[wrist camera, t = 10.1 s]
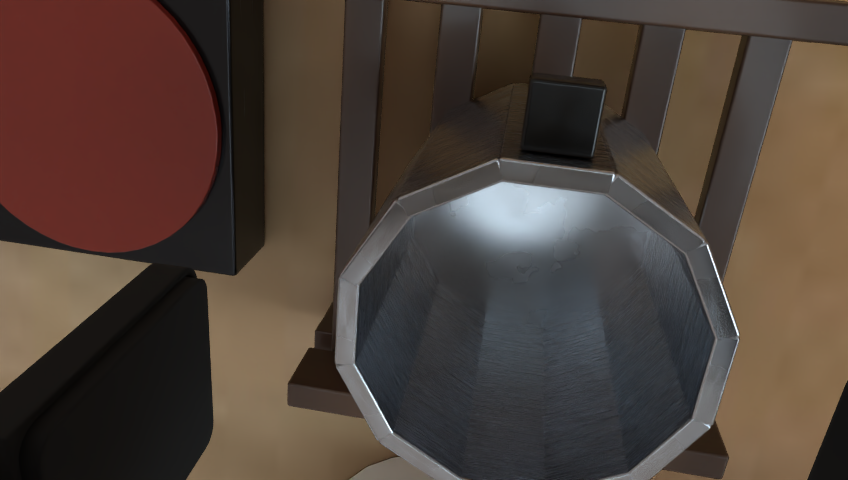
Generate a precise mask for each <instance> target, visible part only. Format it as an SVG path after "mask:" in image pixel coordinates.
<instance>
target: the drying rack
mask: <svg viewBox="0 0 848 480" xmlns="http://www.w3.org/2000/svg"><path fill="white" fill-rule="evenodd" d="M406 1H416V2H425V3H435V4H441V15H440V26H439V36H438V47H437V58H436V69H435V80H434V91H433V102H432V112H431V123H430V134H431V132H432V131H433V130H434V128H435V127H436V126H437V124H438V123H439V121H440V120H441V119H442V117H443V116H444V115H445V113H447V112H448V111H449V110H451V109H453V108H455V107H458V106H460V105H462V104H465V103H467V102H469V101H472V100H473V95H474V87H475V78H476V69H477V61H478V52H479V43H480V35H481V26H482V17H483V9H493V10H502V11H512V12H522V13H531V14H540V19H539V25H538V32H537V39H536V46H535V53H534V60H533V66H532V73H535V72H536V73H545V74H554V75H563V76H572V77H573V72H574V66H575V60H576V54H577V48H578V42H579V36H580V31H581V25H582V19H589V20H599V21H608V22H618V23H628V24H637V25H639V30H638V35H637V40H636V45H635V50H634V54H633V59H632V64H631V69H630V74H629V79H628V84H627V89H626V94H625V99H624V104H623V109H622V114H621V117H623V118H624V119H625V120H627V121H628V122H629V123H630V124H632V125H633V126H634V127H636V128H637V129H638V130H640V131H641V132H642V133H643V134H644V135H645V136H646V138H647V139H648V141H649V143H650V144H651V146H652V148H653V150H654V151H655V153H656V155H657V154H658V150H659V145H660V141H661V137H662V132H663V128H664V123H665V119H666V115H667V110H668V106H669V101H670V97H671V93H672V88H673V84H674V80H675V75H676V71H677V66H678V62H679V58H680V53H681V49H682V44H683V40H684V36H685V31H686V30H695V31H705V32H714V33H724V34H733V35H742V37H741V41H740V45H739V49H738V53H737V57H736V61H735V64H734V68H733V72H732V76H731V80H730V84H729V88H728V91H727V95H726V99H725V103H724V107H723V111H722V115H721V118H720V122H719V126H718V130H717V134H716V138H715V142H714V145H713V149H712V153H711V157H710V161H709V165H708V169H707V172H706V176H705V180H704V184H703V188H702V192H701V196H700V199H699V203H698V207H697V211H696V215H695V221H696V223H697V224H698V226H699V228H700V230H701V231H702V233H703V235H704V236H705V238H706V240H707V242H708V243H709V246H710V249H711V252H712V255H713V257H714V260H715V263H716V266H717V269H718V272H719V275H720V278H721V280H722V283H723V280H724V277H725V273H726V270H727V266H728V263H729V259H730V256H731V252H732V249H733V245H734V242H735V238H736V235H737V232H738V228H739V225H740V221H741V218H742V214H743V211H744V207H745V204H746V200H747V197H748V193H749V190H750V186H751V183H752V179H753V176H754V173H755V169H756V166H757V162H758V159H759V155H760V152H761V148H762V145H763V141H764V138H765V134H766V131H767V127H768V124H769V120H770V117H771V114H772V110H773V107H774V103H775V100H776V96H777V93H778V89H779V86H780V82H781V79H782V75H783V72H784V68H785V65H786V61H787V58H788V55H789V51H790V48H791V44H792V41H801V42H810V43H811V42H814V43H824V44H833V45H843V46H848V2H845V1H839V0H406ZM388 2H389V0H345V21H344V46H343V71H342V96H341V121H340V146H339V171H338V196H337V222H336V247H335V272H334V297H333V302H332V304H331V306H330V307H329V309H328V311H327V312H326V314H325V316H324V318H323V319H322V321H321V322H320V324H319V325H318V327H317V329H316V330H315V348H308V350H307V352H306V353H305V355H304V357H303V359H302V360H301V362H300V364H299V365H298V367H297V369H296V371H295V372H294V374H293V376H292V377H291V379H290V381H289V382H288V405H289V406H293V407H299V408H305V409H311V410H317V411H323V412H328V413H334V414H340V415H346V416H352V417H358V418H363V419H365V418H364V416H363V414H362V413H361V411H360V409H359V407H358V406H357V404H356V402H355V400H354V398H353V397H352V395H351V393H350V391H349V389H348V388H347V386H346V384H345V382H344V381H343V379H342V377H341V375H340V373H339V372H338V370H337V368H336V364H335V343H336V319H337V295H338V279H339V277H340V273H341V271H342V270H343V268H344V267H345V265H346V263H347V262H348V260H349V259H350V257H351V255H352V254H353V252H354V251H355V249H356V247H357V246H358V244H359V243H360V241H361V239H362V238H363V236H364V235H365V233H366V231H367V230H368V228H369V227H370V225H371V223H372V222H373V220H374V219H375V208H376V192H377V176H378V160H379V145H380V129H381V113H382V97H383V81H384V65H385V50H386V34H387V18H388ZM532 73H531V74H532ZM430 134H429V135H430ZM728 459H729V456H728V453H727V451H726V448H725V445H724V443H723V440H722V437H721V435H720V432H719V429H718V427H717V424H716V422H715V421H714V424H713V425H711V428H710V429H709V430H708V431H707V432H706V433H705V434H703V435H702V436H701V437H700V438H699V439H697V440H696V441H695V442H694V443H693V444H691V445H690V446H689V447H688V448H687V449H686V450H684V451H683V452H682V453H681V454H680V455H678V456H677V457H676V458H675V459H674V460H673V461H671V462H670V463H669V464H668V465H667V466H665V467H664V468H663V469H662V470H668V471H674V472H679V473H685V474H691V475H697V476H703V477H709V478H715V479H722V477H723V474H724V471H725V468H726V465H727V462H728Z"/></svg>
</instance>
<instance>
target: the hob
mask: <svg viewBox="0 0 848 480" xmlns="http://www.w3.org/2000/svg"><path fill="white" fill-rule="evenodd" d="M157 1H158V2H159V3H160V4H161V5H162V6H163V7H164V8H165V9H166V10H167V11H168V12H169V13H170V14H171V15H172V16H173V17H174V18H175V19H176V21H177V22H178V23H179V25H180V26H181V27H182V28H183V30H184V31H185V32H186V34H187V35H188V36H189V38H190V39H191V41H192V43H193V44H194V46H195V48H196V49H197V51H198V52H199V54H200V56H201V58H202V60H203V62H204V64H205V67H206V69H207V71H208V73H209V75H210V78H211V81H212V84H213V87H214V90H215V93H216V97H217V102H218V107H219V111H220V119H221V130H222V140H221V155H220V161H219V167H218V171H217V174H216V177H215V181H214V184H213V186H212V188H211V190H210V192H209V194H208V197H207V199H206V201H205V202H204V203H203V205H202V206H201V208H200V209H199V211H198V212H197V213H196V214H195V215H194V217H193V218H192V219H191V220H190V221H189V222H188V223H187V224H186V225H185V226H183V227H182V228H181V229H179V230H178V231H177V232H175V233H174V234H173V235H171V236H170V237H168V238H166V239H164V240H162V241H160V242H159V243H157V244H154V245H151V246H148V247H145V248H143V249H139V250H133V251H128V252H112V253H107V252H96V251H89V250H84V249H79V248H75V247H72V246H69V245H66V244H63V243H60V242H58V241H55V240H53V239H51V238H49V237H47V236H45V235H43V234H41V233H39V232H37V231H36V230H34V229H32V228H31V227H29V226H27V225H26V224H25V223H23V222H22V221H21V220H19V219H18V218H16V217H15V216H14V215H12V214H11V213H10V212H9V211H8V210H7V209H6V208H5V207H3V206H2V205H1V204H0V240H1V241H7V242H14V243H20V244H27V245H34V246H40V247H47V248H53V249H60V250H67V251H73V252H80V253H87V254H93V255H100V256H106V257H113V258H120V259H126V260H133V261H139V262H146V263H160V264H167V265H174V266H181V267H188V268H192V269H193V270H199V271H205V272H212V273H219V274H225V275H232V276H234V275H237V274H238V273H239V271H240V270H241V269H242V268H243V267H244V266H245V265H246V264H247V263H248V262H249V261H250V260H251V259H252V258H253V257H254V256H255V255H256V254H257V252H258V251H259V250H260V249H261V248H262V247H263V246H264V77H263V0H157Z"/></svg>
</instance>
